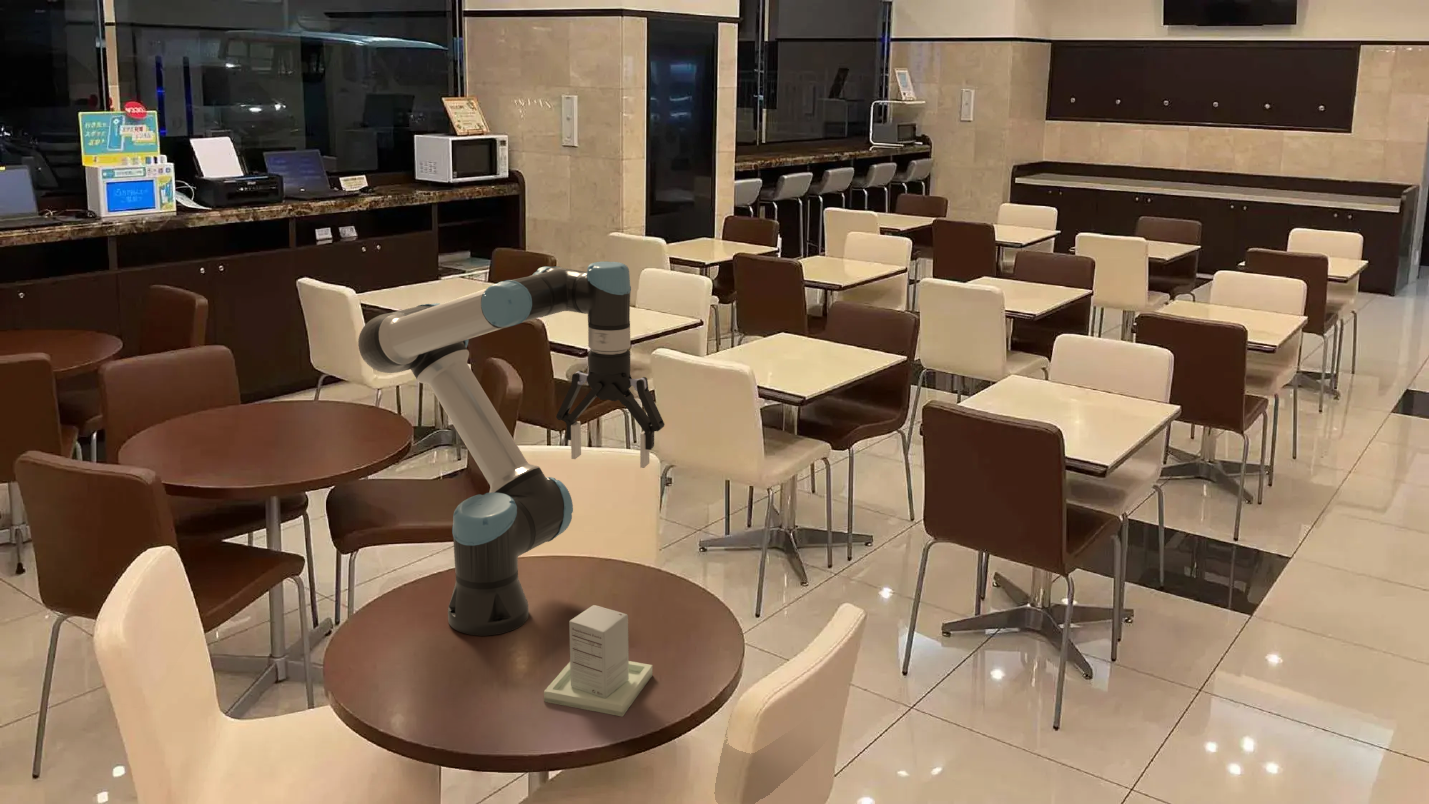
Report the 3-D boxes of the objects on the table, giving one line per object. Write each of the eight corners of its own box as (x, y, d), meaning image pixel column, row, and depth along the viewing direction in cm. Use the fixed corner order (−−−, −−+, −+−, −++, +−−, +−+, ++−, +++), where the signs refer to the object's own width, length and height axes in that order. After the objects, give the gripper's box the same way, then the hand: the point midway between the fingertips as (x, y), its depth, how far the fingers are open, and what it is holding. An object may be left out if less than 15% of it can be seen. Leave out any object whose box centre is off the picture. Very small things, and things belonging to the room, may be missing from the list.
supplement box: (594, 668, 206) (594, 603, 202) (629, 680, 202) (629, 613, 198) (569, 687, 199) (567, 620, 196) (604, 699, 196) (604, 631, 192)
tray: (544, 701, 197) (544, 690, 196) (578, 661, 209) (578, 651, 209) (622, 716, 193) (622, 705, 192) (652, 675, 205) (652, 664, 205)
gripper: (536, 347, 211) (539, 459, 217) (668, 360, 204) (667, 475, 210) (554, 338, 218) (556, 447, 224) (682, 350, 211) (680, 462, 217)
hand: (610, 461), depth 217 cm, fingers open, 13 cm apart
